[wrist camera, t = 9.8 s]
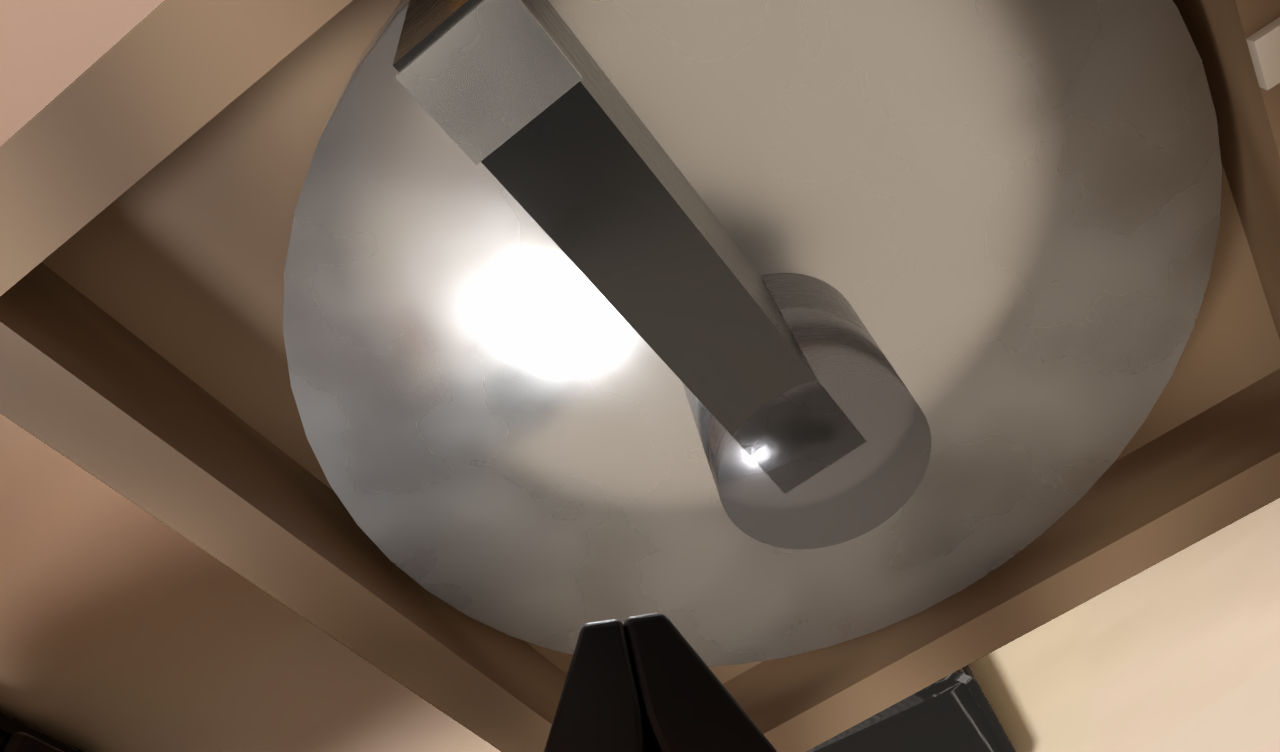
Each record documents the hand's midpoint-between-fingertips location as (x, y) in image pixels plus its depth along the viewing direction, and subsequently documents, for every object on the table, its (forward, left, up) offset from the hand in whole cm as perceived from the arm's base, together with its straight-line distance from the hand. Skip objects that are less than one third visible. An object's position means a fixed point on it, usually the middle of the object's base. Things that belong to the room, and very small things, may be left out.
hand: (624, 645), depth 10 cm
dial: (+2, -4, -10) cm, 11 cm away
